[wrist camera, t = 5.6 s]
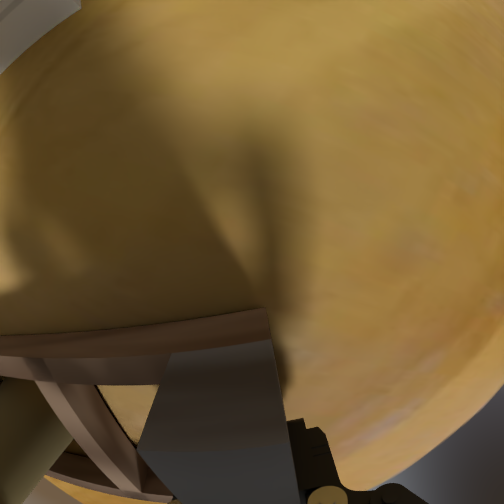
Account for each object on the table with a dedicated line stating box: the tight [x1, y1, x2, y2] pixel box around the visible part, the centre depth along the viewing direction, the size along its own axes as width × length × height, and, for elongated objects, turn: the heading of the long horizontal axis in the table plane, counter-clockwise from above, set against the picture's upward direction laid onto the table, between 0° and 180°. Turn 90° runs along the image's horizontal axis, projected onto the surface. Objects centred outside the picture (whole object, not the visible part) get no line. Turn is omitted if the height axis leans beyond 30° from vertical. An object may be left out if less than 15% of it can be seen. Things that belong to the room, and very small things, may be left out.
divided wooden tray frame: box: [0, 307, 301, 504], centre depth 8 cm, size 11×20×6 cm, turn 100°
